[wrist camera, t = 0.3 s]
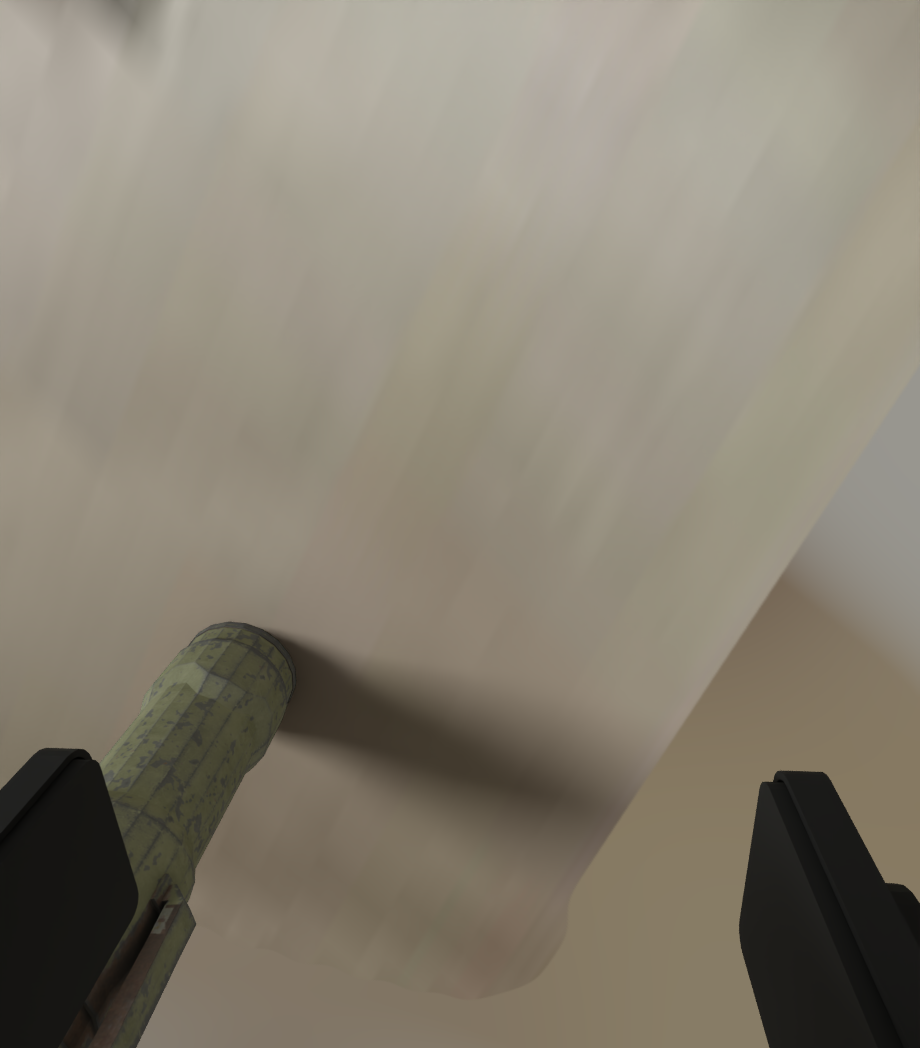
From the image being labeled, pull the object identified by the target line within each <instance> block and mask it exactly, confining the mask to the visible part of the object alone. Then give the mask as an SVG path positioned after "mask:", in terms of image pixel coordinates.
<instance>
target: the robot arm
mask: <svg viewBox="0 0 920 1048" xmlns="http://www.w3.org/2000/svg"><path fill="white" fill-rule="evenodd" d="M138 898H139V893H138V887H137V884H136V881H135V878H134V874H133V871H132V868H131V864H130V861H129V858H128V855H127V851H126V848H125V845H124V842H123V838H122V835H121V832H120V828H119V825H118V822H117V819H116V815H115V812H114V809H113V806H112V802H111V799H110V796H109V792H108V789H107V786H106V783H105V779H104V776H103V773H102V770H101V767H100V765H99V763H98V762H97V761H96V760H92V758H91V756H90V754H89V753H88V752H87V751H86V750H83V749H63V748H44V749H41V750H39V751H38V752H37V753H35V754H34V755H33V756H32V757H31V758H30V759H29V760H28V761H27V762H26V763H25V765H24V766H23V767H22V768H21V769H20V770H19V771H18V772H17V773H16V774H15V775H14V776H13V777H12V778H11V779H10V780H9V782H8V783H7V784H6V785H5V786H4V787H3V788H2V789H1V790H0V1048H58V1047H59V1046H60V1044H61V1042H62V1040H63V1039H64V1037H65V1035H66V1033H67V1032H68V1030H69V1028H70V1026H71V1025H72V1023H73V1021H74V1020H75V1018H76V1016H77V1014H78V1013H79V1011H80V1009H81V1007H82V1006H83V1004H84V1002H85V1000H86V999H87V997H88V995H89V994H90V992H91V990H92V988H93V987H94V985H95V983H96V981H97V980H98V978H99V976H100V974H101V973H102V971H103V969H104V968H105V966H106V964H107V962H108V961H109V959H110V957H111V955H112V954H113V952H114V950H115V948H116V947H117V945H118V943H119V942H120V940H121V938H122V936H123V935H124V933H125V931H126V929H127V928H128V926H129V924H130V923H131V921H132V919H133V917H134V915H135V912H136V909H137V905H138ZM739 934H740V942H741V949H742V953H743V956H744V960H745V964H746V967H747V971H748V974H749V978H750V981H751V985H752V988H753V992H754V995H755V999H756V1002H757V1006H758V1009H759V1012H760V1016H761V1019H762V1023H763V1027H764V1030H765V1034H766V1037H767V1040H768V1044H769V1047H770V1048H920V903H919V902H918V900H917V899H916V897H915V896H914V894H913V893H912V892H911V891H910V890H909V889H908V888H906V887H905V886H904V885H900V884H894V883H893V884H892V883H885V882H884V880H883V878H882V876H881V874H880V872H879V871H878V869H877V867H876V865H875V863H874V861H873V859H872V857H871V855H870V853H869V852H868V850H867V848H866V846H865V844H864V842H863V840H862V839H861V837H860V835H859V833H858V831H857V829H856V827H855V825H854V823H853V822H852V820H851V818H850V816H849V814H848V812H847V810H846V808H845V807H844V805H843V803H842V801H841V799H840V797H839V795H838V793H837V792H836V790H835V788H834V786H833V784H832V782H831V780H830V779H829V777H828V776H827V775H826V774H825V773H823V772H806V771H805V772H803V771H777V772H776V774H775V776H774V780H773V782H762V783H761V785H760V789H759V796H758V803H757V809H756V816H755V822H754V829H753V835H752V842H751V848H750V855H749V862H748V868H747V875H746V882H745V889H744V895H743V902H742V908H741V915H740V922H739Z"/></svg>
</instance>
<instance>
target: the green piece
mask: <svg viewBox="0 0 920 1048" xmlns="http://www.w3.org/2000/svg"><path fill="white" fill-rule="evenodd" d="M295 685H296V674H295V667H294V665H293V662H292V660H291V658H290V655H289V653H288V652H287V651H286V650H285V649H284V647H283V646H282V645H281V644H280V642H279V641H278V640H276V639H275V638H274V637H272V636H271V635H269V634H268V633H266V632H265V631H264V630H262V629H259V628H256V627H254V626H251V625H248V624H245V623H235V622H225V623H220V624H215V625H211V626H209V627H208V628H206V629H204V630H203V631H201V632H199V633H198V634H197V635H196V636H195V638H194V639H193V640H192V642H191V643H190V644H189V646H188V647H186V648H185V649H183V650H181V651H180V652H179V654H178V655H177V656H176V657H175V658H174V660H173V661H172V662H171V663H170V664H169V666H168V667H167V668H166V669H165V670H164V672H163V673H162V674H161V675H160V676H159V678H158V679H157V680H156V681H155V682H154V684H153V685H152V686H151V688H150V689H149V690H148V692H147V693H146V694H145V695H144V699H143V703H142V707H141V711H140V714H139V715H138V717H137V718H136V719H135V720H134V722H133V723H132V724H131V725H130V727H129V728H128V729H127V730H126V731H125V733H124V734H123V735H122V736H121V738H120V739H119V740H118V741H117V743H116V744H115V745H114V746H113V748H112V749H111V750H110V751H109V753H108V754H107V755H106V756H105V757H104V759H103V760H102V761H101V762H100V764H99V765H100V767H101V770H102V773H103V776H104V779H105V783H106V786H107V789H108V792H109V796H110V799H111V802H112V806H113V809H114V812H115V815H116V819H117V822H118V825H119V828H120V832H121V835H122V838H123V842H124V845H125V848H126V851H127V855H128V858H129V861H130V864H131V868H132V871H133V874H134V878H135V881H136V884H137V887H138V893H139V898H138V905H137V909H136V912H135V915H134V917H133V919H132V921H131V923H130V924H129V926H128V928H127V929H126V931H125V933H124V935H123V936H122V938H121V940H120V942H119V943H118V945H117V947H116V948H115V950H114V952H113V954H112V955H111V957H110V959H109V961H108V962H107V964H106V966H105V968H104V969H103V971H102V973H101V974H100V976H99V978H98V980H97V981H96V983H95V985H94V987H93V988H92V990H91V992H90V994H89V995H88V997H87V999H86V1000H85V1002H84V1004H83V1006H82V1007H81V1009H80V1011H79V1013H78V1014H77V1016H76V1018H75V1020H74V1021H73V1023H72V1025H71V1026H70V1028H69V1030H68V1032H67V1033H66V1035H65V1037H64V1039H63V1040H62V1042H61V1044H60V1046H59V1047H58V1048H136V1047H137V1044H138V1043H139V1041H140V1039H141V1036H142V1034H143V1032H144V1030H145V1028H146V1026H147V1024H148V1022H149V1020H150V1018H151V1016H152V1014H153V1012H154V1010H155V1007H156V1005H157V1003H158V1001H159V999H160V997H161V995H162V993H163V991H164V989H165V987H166V985H167V983H168V981H169V978H170V976H171V974H172V972H173V970H174V968H175V966H176V964H177V962H178V960H179V958H180V955H181V954H182V952H183V950H184V948H185V946H186V944H187V942H188V940H189V938H190V936H191V934H192V932H193V930H194V928H195V926H196V922H195V920H194V917H193V915H192V912H191V910H190V908H189V906H188V904H187V902H188V900H189V898H190V895H191V892H192V889H193V886H194V883H195V868H196V866H197V864H198V863H199V861H200V859H201V857H202V855H203V853H204V851H205V849H206V847H207V845H208V844H209V842H210V840H211V838H212V836H213V834H214V832H215V830H216V828H217V827H218V825H219V823H220V821H221V819H222V817H223V815H224V813H225V811H226V809H227V808H228V806H229V804H230V802H231V800H232V798H233V796H234V794H235V792H236V790H237V789H238V787H239V785H240V783H241V781H242V779H243V777H244V775H245V774H246V773H247V772H248V771H250V770H251V769H252V768H253V767H254V766H255V765H256V764H257V763H258V762H259V761H260V760H261V758H262V757H263V756H264V754H265V752H266V750H267V749H268V747H269V745H270V743H271V741H272V739H273V737H274V735H275V733H276V731H277V729H278V727H279V725H280V723H281V721H282V719H283V716H284V713H285V710H286V707H287V704H288V702H289V701H290V699H291V697H292V694H293V691H294V688H295Z"/></svg>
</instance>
